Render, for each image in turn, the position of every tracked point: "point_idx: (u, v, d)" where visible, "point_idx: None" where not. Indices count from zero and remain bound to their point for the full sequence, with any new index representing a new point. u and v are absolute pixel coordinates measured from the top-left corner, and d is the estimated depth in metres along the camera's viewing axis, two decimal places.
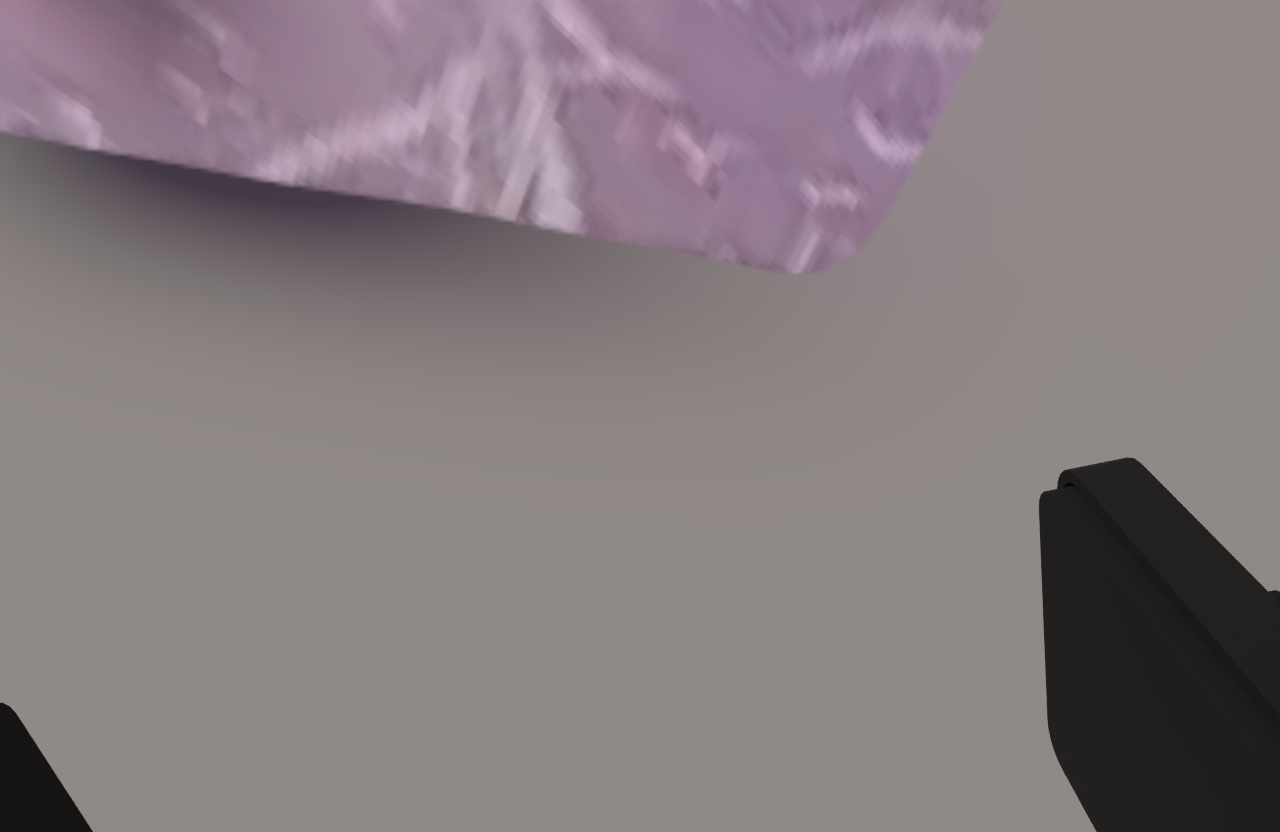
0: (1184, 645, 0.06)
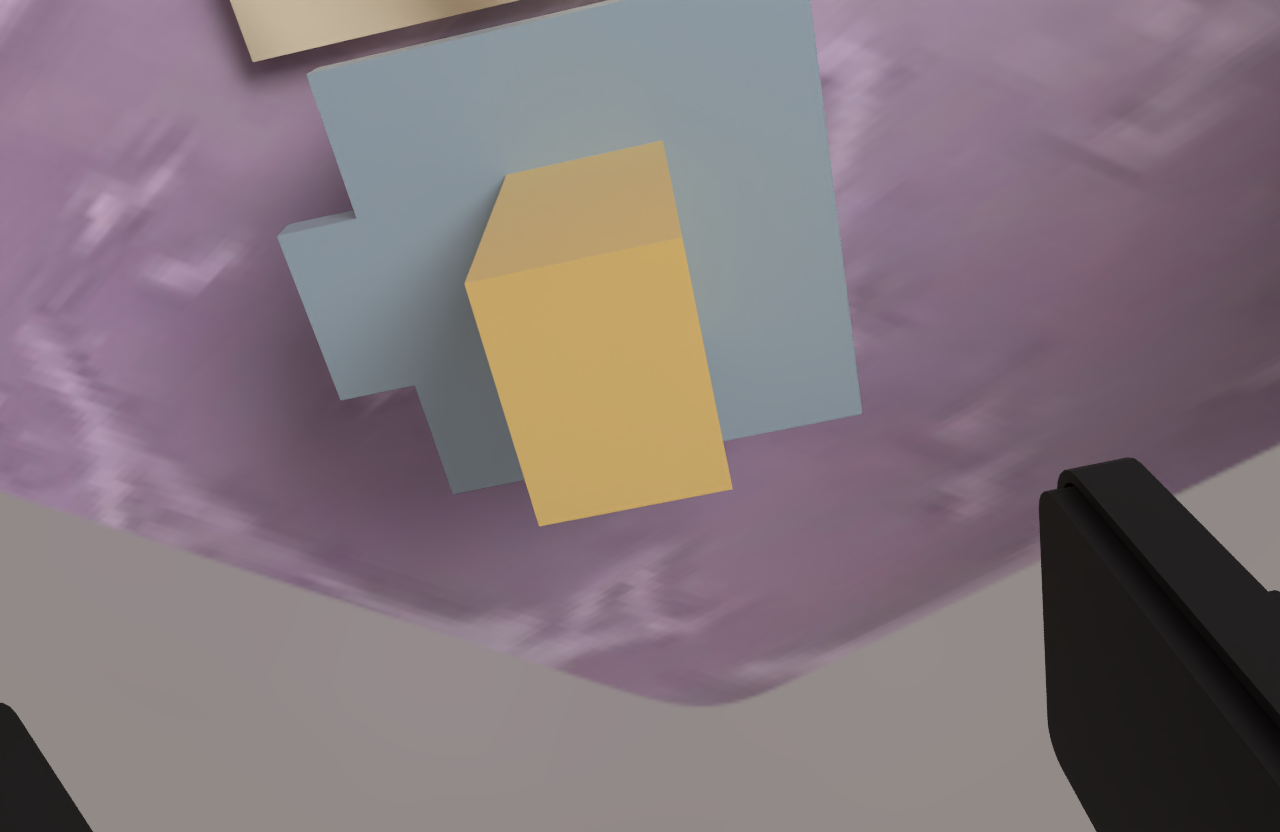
0: (1185, 645, 0.06)
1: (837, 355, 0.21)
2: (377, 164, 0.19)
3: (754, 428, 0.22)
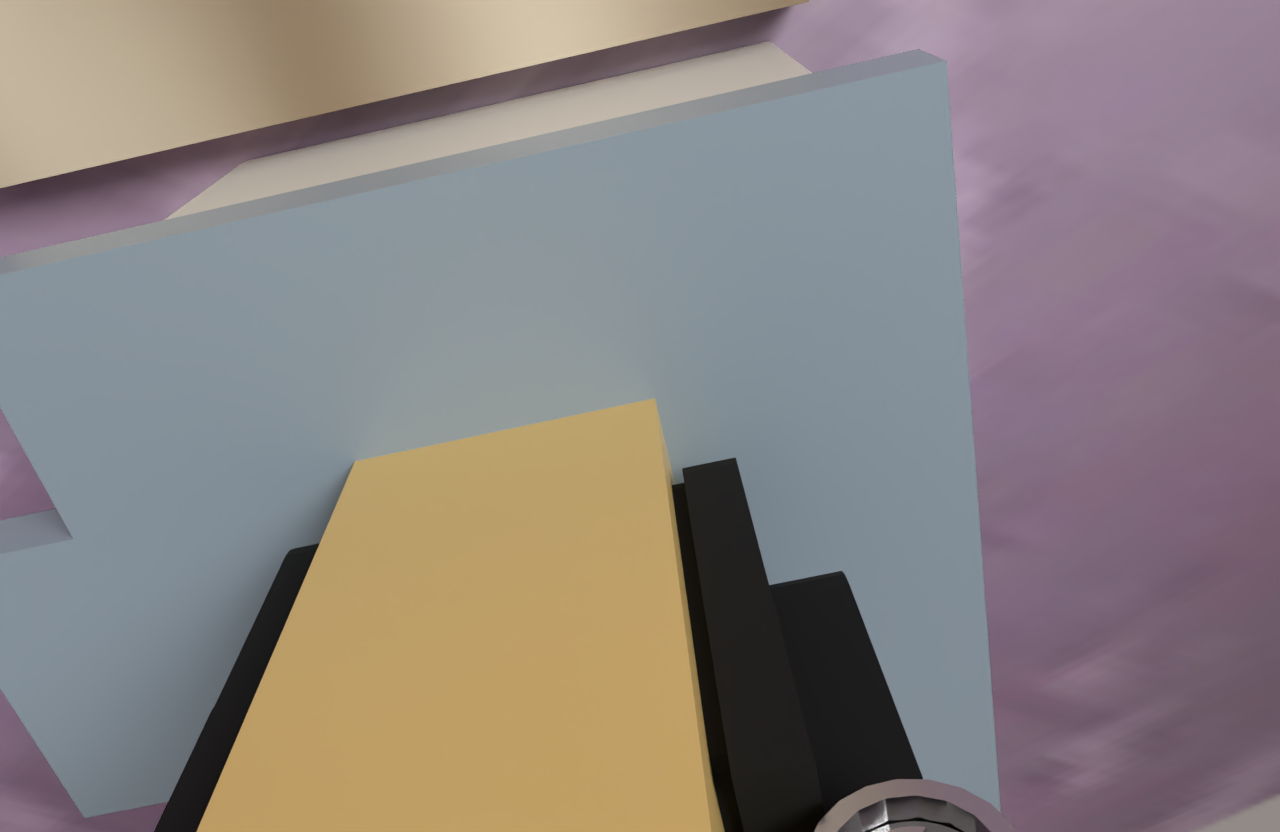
0: (691, 612, 0.08)
1: (964, 731, 0.12)
2: (101, 447, 0.10)
3: None
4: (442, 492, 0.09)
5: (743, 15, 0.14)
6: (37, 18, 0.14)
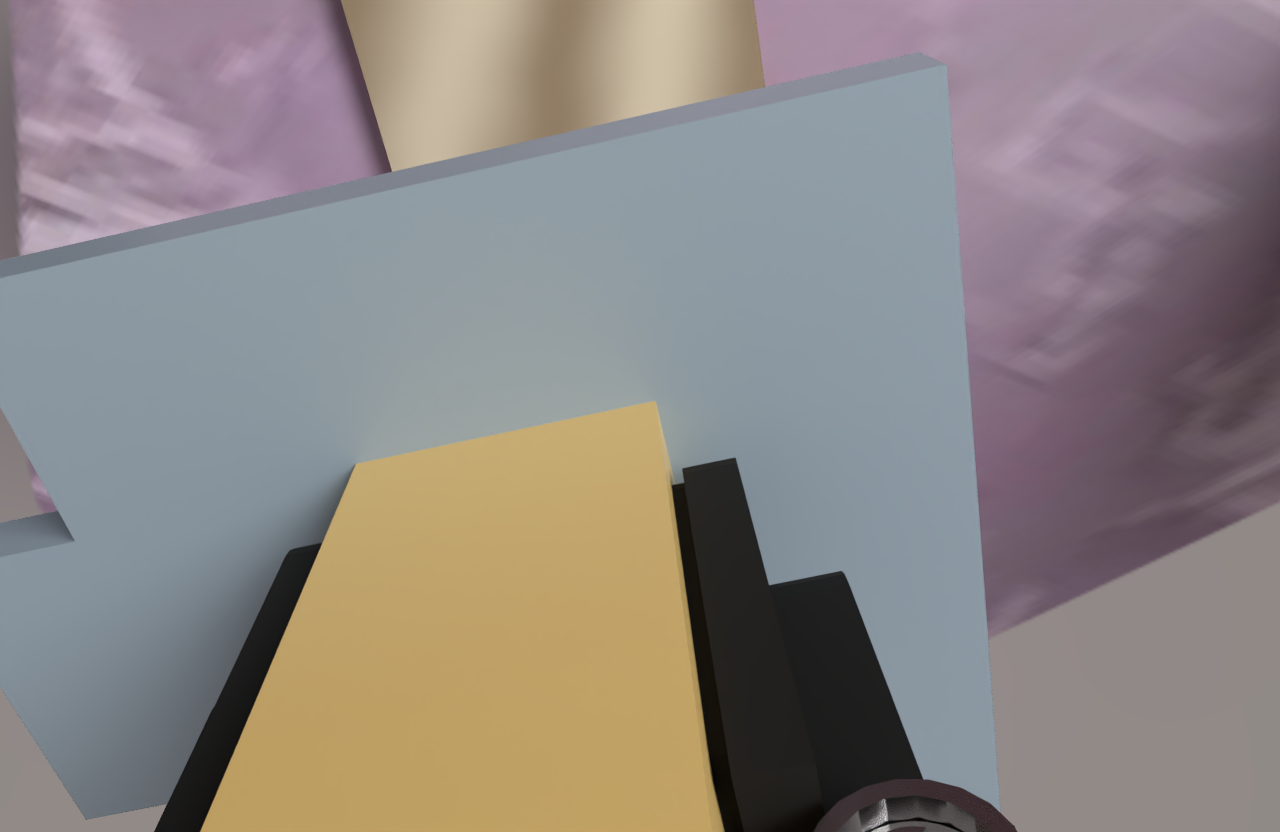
0: (691, 613, 0.08)
1: (964, 733, 0.12)
2: (103, 450, 0.10)
3: None
4: (443, 494, 0.09)
5: None
6: None
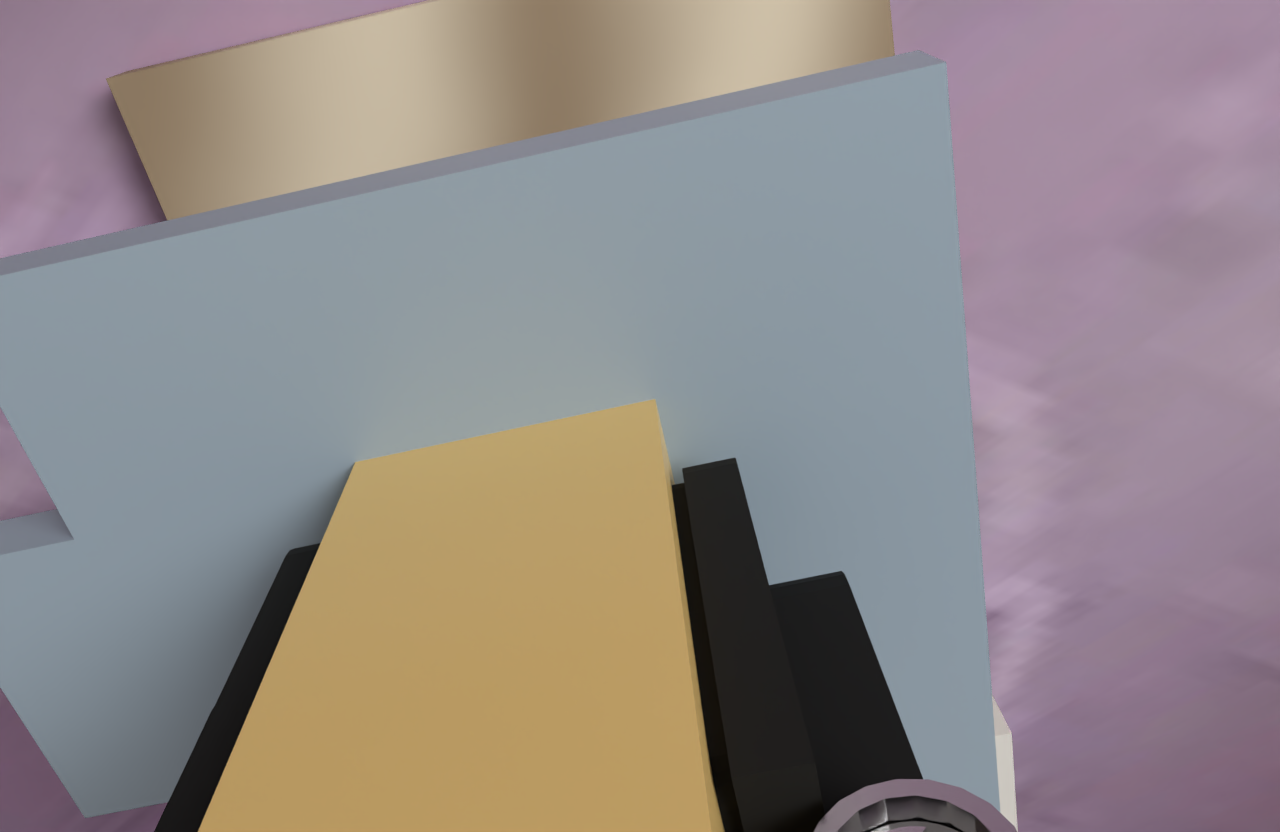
0: (690, 612, 0.08)
1: (964, 732, 0.12)
2: (102, 448, 0.10)
3: None
4: (442, 493, 0.09)
5: None
6: None
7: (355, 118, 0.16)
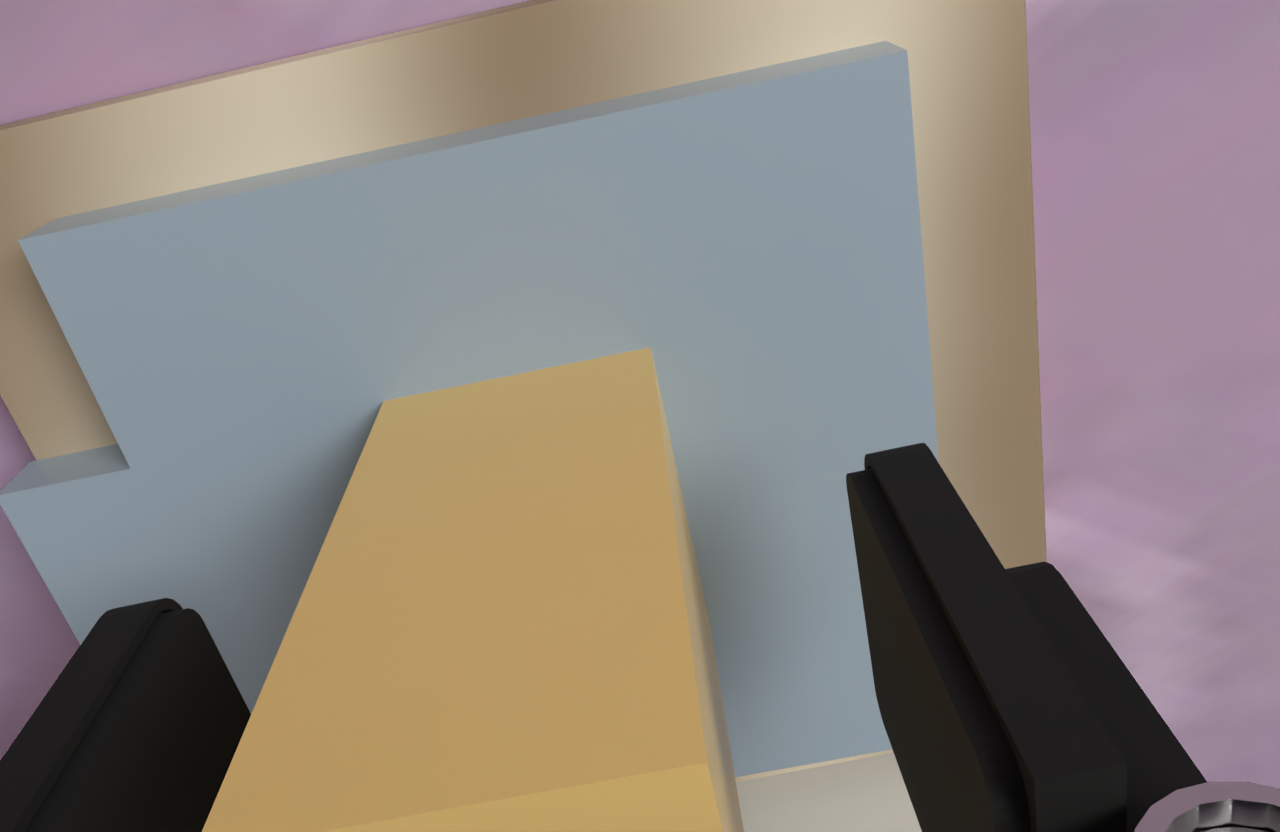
0: (921, 604, 0.07)
1: None
2: (159, 385, 0.11)
3: (791, 758, 0.14)
4: (463, 423, 0.10)
5: None
6: None
7: None
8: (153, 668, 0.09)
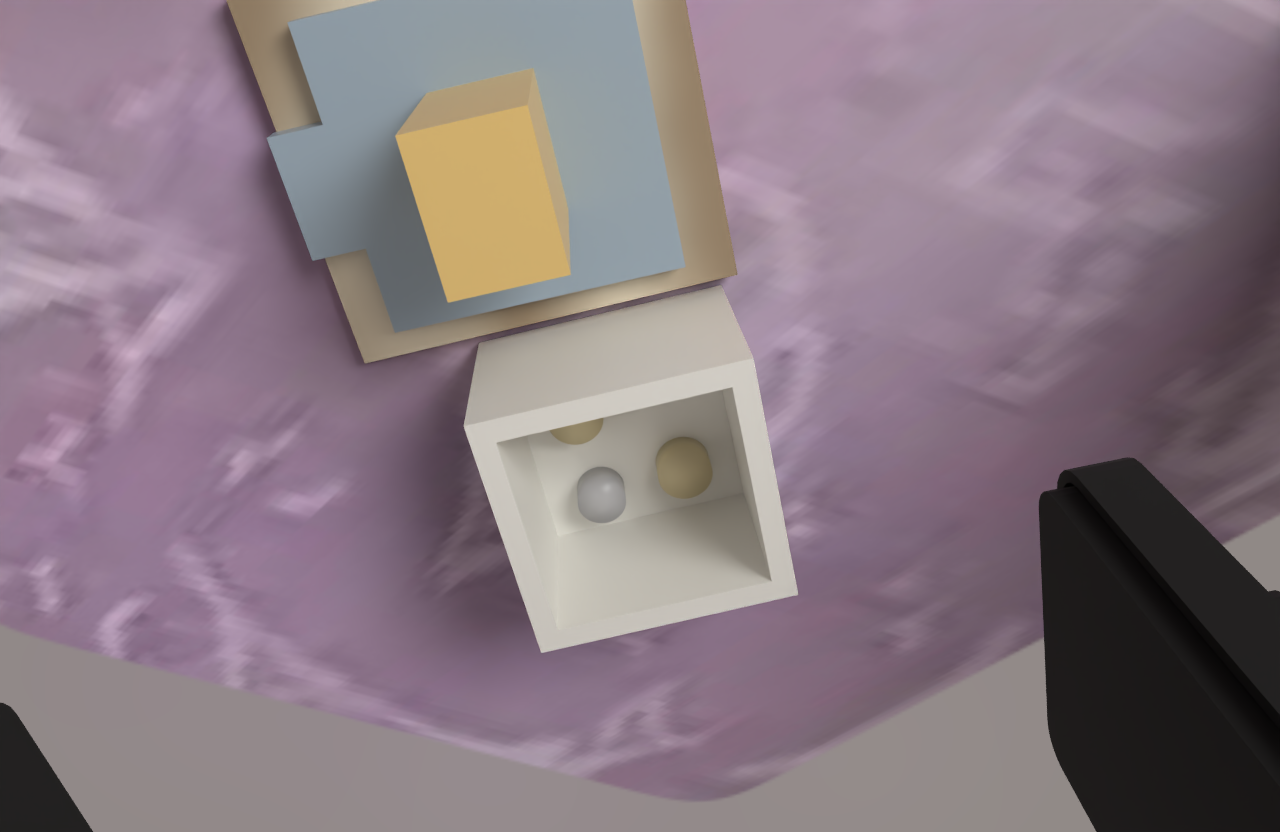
0: (1184, 645, 0.06)
1: (664, 223, 0.30)
2: (337, 85, 0.28)
3: (610, 279, 0.31)
4: (459, 90, 0.27)
5: (708, 280, 0.32)
6: None
7: None
8: None
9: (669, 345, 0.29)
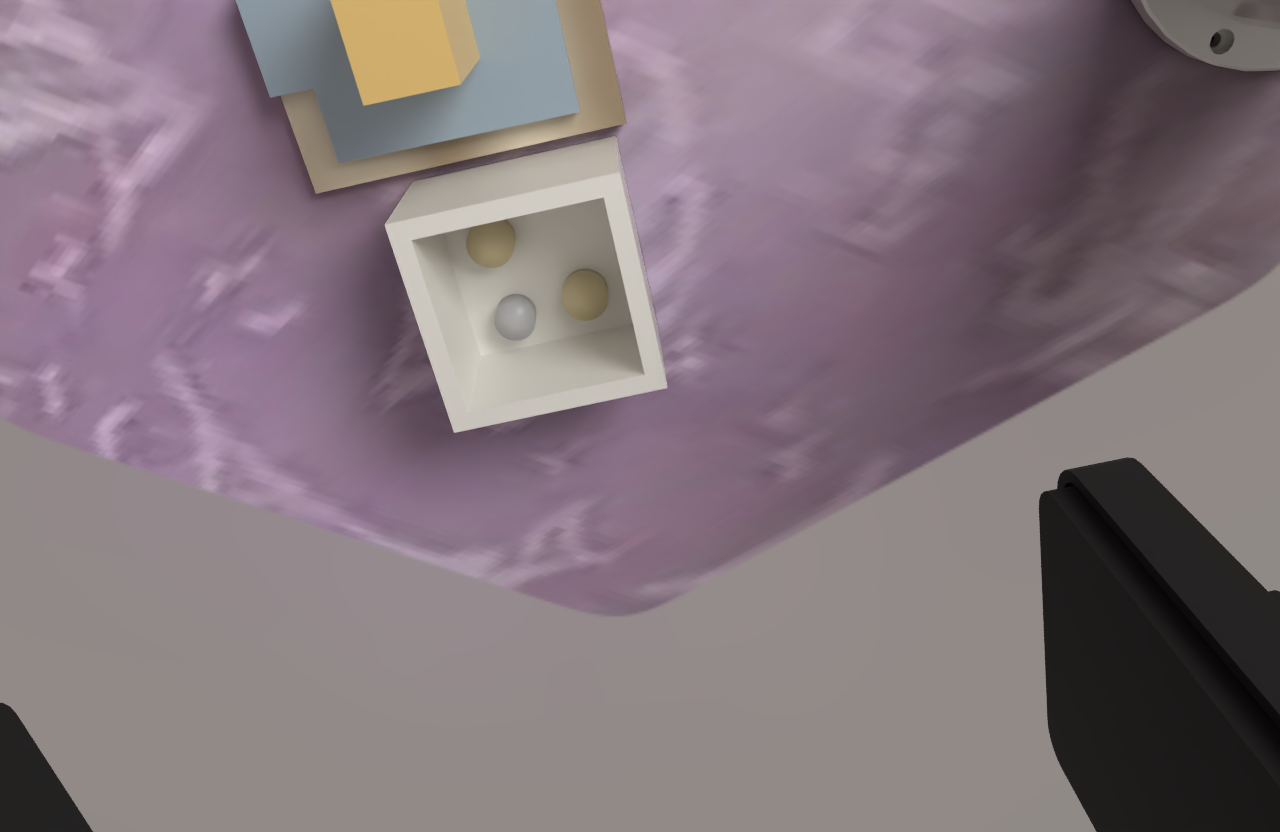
0: (1185, 645, 0.06)
1: (560, 72, 0.36)
2: None
3: (516, 121, 0.37)
4: None
5: (602, 128, 0.38)
6: None
7: None
8: None
9: (559, 170, 0.35)
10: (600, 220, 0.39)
